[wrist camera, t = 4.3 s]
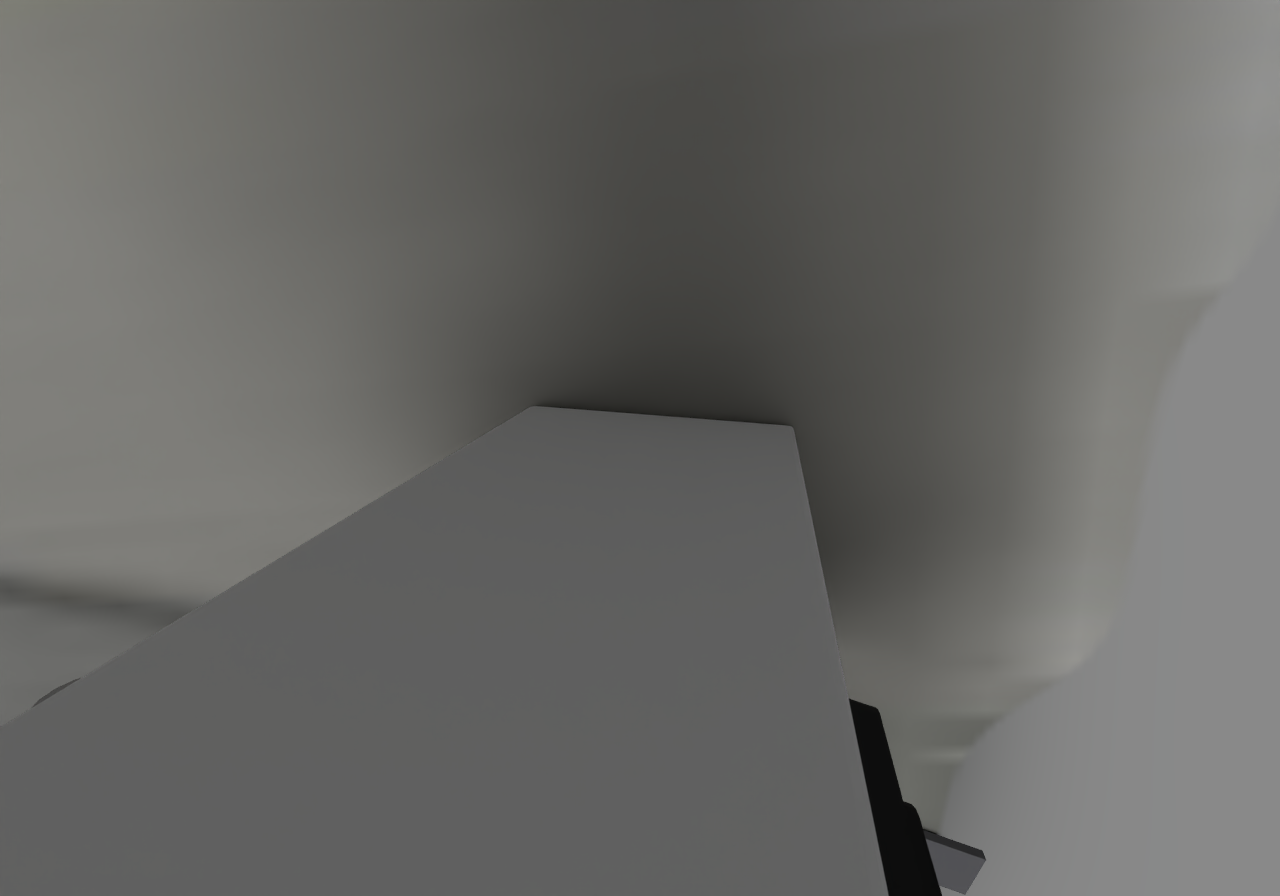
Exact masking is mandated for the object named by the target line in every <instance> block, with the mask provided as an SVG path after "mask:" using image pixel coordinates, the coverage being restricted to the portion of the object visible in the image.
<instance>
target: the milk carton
mask: <svg viewBox="0 0 1280 896" xmlns="http://www.w3.org/2000/svg"><path fill="white" fill-rule="evenodd" d="M0 896H889V895H888V890H887V885H886V880H885V875H884V870H883V865H882V860H881V856H880V851H879V846H878V841H877V836H876V831H875V826H874V821H873V816H872V811H871V806H870V801H869V797H868V792H867V787H866V782H865V777H864V772H863V767H862V762H861V757H860V752H859V747H858V742H857V738H856V733H855V728H854V723H853V718H852V713H851V708H850V703H849V698H848V693H847V688H846V683H845V678H844V674H843V669H842V664H841V659H840V654H839V649H838V644H837V639H836V634H835V629H834V624H833V619H832V615H831V610H830V605H829V600H828V595H827V590H826V585H825V580H824V575H823V570H822V565H821V560H820V556H819V551H818V546H817V541H816V536H815V531H814V526H813V521H812V516H811V511H810V506H809V501H808V497H807V492H806V487H805V482H804V477H803V472H802V467H801V462H800V457H799V452H798V447H797V442H796V438H795V433H794V429H793V427H791V426H786V425H774V424H761V423H748V422H735V421H722V420H709V419H696V418H683V417H670V416H657V415H645V414H632V413H619V412H606V411H593V410H580V409H567V408H554V407H541V406H532V407H529V408H527V409H526V410H524V411H522V412H521V413H519V414H517V415H516V416H514V417H512V418H511V419H509V420H507V421H506V422H504V423H502V424H501V425H499V426H497V427H496V428H494V429H492V430H491V431H489V432H487V433H486V434H484V435H483V436H481V437H479V438H478V439H476V440H474V441H473V442H471V443H469V444H468V445H466V446H464V447H463V448H461V449H459V450H458V451H456V452H454V453H453V454H451V455H449V456H448V457H446V458H444V459H443V460H441V461H440V462H438V463H436V464H435V465H433V466H431V467H430V468H428V469H426V470H425V471H423V472H421V473H420V474H418V475H416V476H415V477H413V478H411V479H410V480H408V481H406V482H405V483H403V484H401V485H400V486H398V487H396V488H395V489H393V490H392V491H390V492H388V493H387V494H385V495H383V496H382V497H380V498H378V499H377V500H375V501H373V502H372V503H370V504H368V505H367V506H365V507H363V508H362V509H360V510H358V511H357V512H355V513H353V514H352V515H350V516H348V517H347V518H345V519H344V520H342V521H340V522H339V523H337V524H335V525H334V526H332V527H330V528H329V529H327V530H325V531H324V532H322V533H320V534H319V535H317V536H315V537H314V538H312V539H310V540H309V541H307V542H305V543H304V544H302V545H300V546H299V547H297V548H296V549H294V550H292V551H291V552H289V553H287V554H286V555H284V556H282V557H281V558H279V559H277V560H276V561H274V562H272V563H271V564H269V565H267V566H266V567H264V568H262V569H261V570H259V571H257V572H256V573H254V574H252V575H251V576H249V577H248V578H246V579H244V580H243V581H241V582H239V583H238V584H236V585H234V586H233V587H231V588H229V589H228V590H226V591H224V592H223V593H221V594H219V595H218V596H216V597H214V598H213V599H211V600H209V601H208V602H206V603H204V604H203V605H201V606H200V607H198V608H196V609H195V610H193V611H191V612H190V613H188V614H186V615H185V616H183V617H181V618H180V619H178V620H176V621H175V622H173V623H171V624H170V625H168V626H166V627H165V628H163V629H161V630H160V631H158V632H157V633H155V634H153V635H152V636H150V637H148V638H147V639H145V640H143V641H142V642H140V643H138V644H137V645H135V646H133V647H132V648H130V649H128V650H127V651H125V652H123V653H122V654H120V655H118V656H117V657H115V658H113V659H112V660H110V661H109V662H107V663H105V664H104V665H102V666H100V667H99V668H97V669H95V670H94V671H92V672H90V673H89V674H87V675H85V676H84V677H82V678H80V679H79V680H77V681H75V682H74V683H72V684H70V685H69V686H67V687H65V688H64V689H62V690H61V691H59V692H57V693H56V694H54V695H52V696H51V697H49V698H47V699H46V700H44V701H42V702H41V703H39V704H37V705H36V706H34V707H32V708H31V709H29V710H27V711H26V712H24V713H22V714H21V715H19V716H17V717H16V718H14V719H13V720H11V721H9V722H8V723H6V724H4V725H3V726H1V727H0Z"/></svg>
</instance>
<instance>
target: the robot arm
mask: <svg viewBox="0 0 1280 896" xmlns="http://www.w3.org/2000/svg"><path fill="white" fill-rule="evenodd" d="M79 679H80V678H79ZM79 679H75V680H73V681H71V682H69V683H67V684H64V685H62V686H60V687H58V688H56V689H54V690H53V691H51V692H50V693H48V694H47V695H45V696H44V697H42V698H41V699H39V700H38V701H37V702H36V703H35V704H34V705H33V707H34V706H36V705H37V704H39V703H41V702H42V701H44V700H46V699H47V698H49V697H51V696H52V695H54V694H56V693H57V692H59V691H61V690H62V689H64V688H65V687H67V686H69V685H70V684H72V683H74V682H75V681H77V680H79ZM849 703H850V708H851V713H852V718H853V723H854V728H855V733H856V738H857V742H858V747H859V752H860V757H861V762H862V767H863V772H864V777H865V782H866V787H867V792H868V797H869V801H870V806H871V811H872V816H873V821H874V826H875V831H876V836H877V841H878V846H879V851H880V856H881V860H882V865H883V870H884V875H885V880H886V885H887V890H888V895H889V896H942V894H941V890H940V887H939V883H938V880H937V876H936V873H935V869H934V866H933V862H932V859H931V856H930V852H929V849H928V845H927V842H926V838H925V835H924V831H923V828H922V824H921V821H920V818H919V815H918V813H917V810H916V809H915V808H914V806H913V805H912V804H910V803H907V802H904V801H903V799H902V795H901V791H900V788H899V784H898V780H897V776H896V773H895V769H894V765H893V761H892V758H891V754H890V750H889V746H888V742H887V739H886V735H885V731H884V727H883V724H882V720H881V716H880V713H879V711H878V709H877V708H876V707H872V706H869V705H866V704H863V703H860V702H857V701H854V700H851V699H849Z"/></svg>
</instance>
